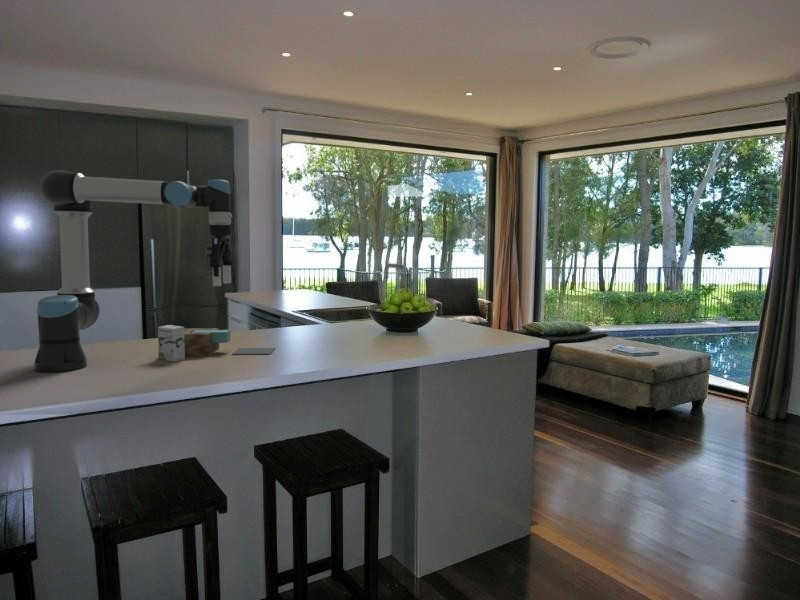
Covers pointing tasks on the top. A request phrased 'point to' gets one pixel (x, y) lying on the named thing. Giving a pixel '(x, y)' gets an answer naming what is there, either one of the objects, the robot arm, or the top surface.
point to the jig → (199, 342)
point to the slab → (217, 335)
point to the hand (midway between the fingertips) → (222, 284)
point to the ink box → (171, 343)
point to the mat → (253, 351)
